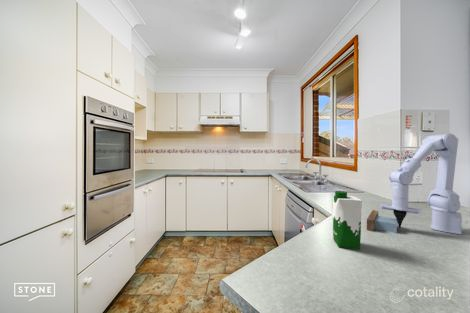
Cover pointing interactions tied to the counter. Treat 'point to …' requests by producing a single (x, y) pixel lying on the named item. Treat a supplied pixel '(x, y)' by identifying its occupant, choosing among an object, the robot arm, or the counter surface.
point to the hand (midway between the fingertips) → (399, 227)
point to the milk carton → (346, 220)
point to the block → (386, 224)
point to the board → (371, 220)
